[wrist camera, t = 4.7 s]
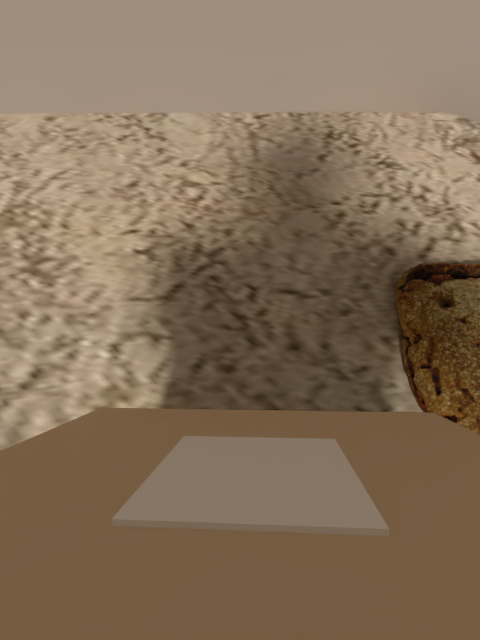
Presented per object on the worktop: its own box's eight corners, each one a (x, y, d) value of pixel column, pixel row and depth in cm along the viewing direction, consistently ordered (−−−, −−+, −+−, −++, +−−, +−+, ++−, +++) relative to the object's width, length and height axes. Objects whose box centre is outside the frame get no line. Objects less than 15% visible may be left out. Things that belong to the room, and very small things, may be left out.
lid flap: (1103, 820, 3) (1095, 716, 3) (-428, 698, 4) (-425, 622, 4) (433, 429, 15) (433, 409, 15) (101, 423, 16) (101, 405, 16)
